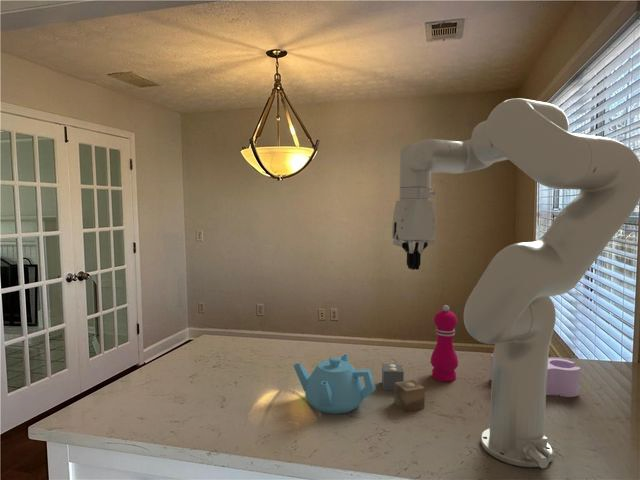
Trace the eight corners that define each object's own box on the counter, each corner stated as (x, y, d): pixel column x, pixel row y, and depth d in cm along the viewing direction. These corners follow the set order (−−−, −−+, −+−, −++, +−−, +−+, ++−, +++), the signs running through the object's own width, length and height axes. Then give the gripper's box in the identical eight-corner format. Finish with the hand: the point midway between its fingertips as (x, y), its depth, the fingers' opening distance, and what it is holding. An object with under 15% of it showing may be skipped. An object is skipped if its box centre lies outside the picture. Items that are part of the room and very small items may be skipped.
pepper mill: (454, 372, 122) (456, 302, 120) (460, 383, 114) (462, 308, 113) (428, 371, 122) (430, 301, 121) (432, 381, 115) (434, 307, 114)
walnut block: (424, 408, 100) (424, 387, 100) (405, 412, 98) (406, 390, 98) (412, 399, 105) (412, 379, 104) (394, 402, 103) (394, 381, 103)
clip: (566, 381, 116) (567, 356, 116) (586, 402, 104) (587, 374, 103) (488, 376, 120) (489, 351, 119) (498, 395, 107) (499, 368, 107)
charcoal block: (403, 391, 110) (403, 371, 109) (383, 390, 110) (383, 370, 110) (400, 382, 115) (401, 364, 114) (381, 382, 115) (382, 363, 115)
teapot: (319, 424, 93) (319, 375, 92) (292, 396, 106) (292, 353, 105) (378, 409, 100) (379, 364, 99) (346, 385, 113) (346, 344, 112)
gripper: (435, 195, 112) (433, 266, 114) (380, 195, 109) (379, 267, 111) (450, 195, 105) (448, 270, 106) (392, 194, 102) (391, 271, 103)
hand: (413, 268), depth 108 cm, fingers closed
